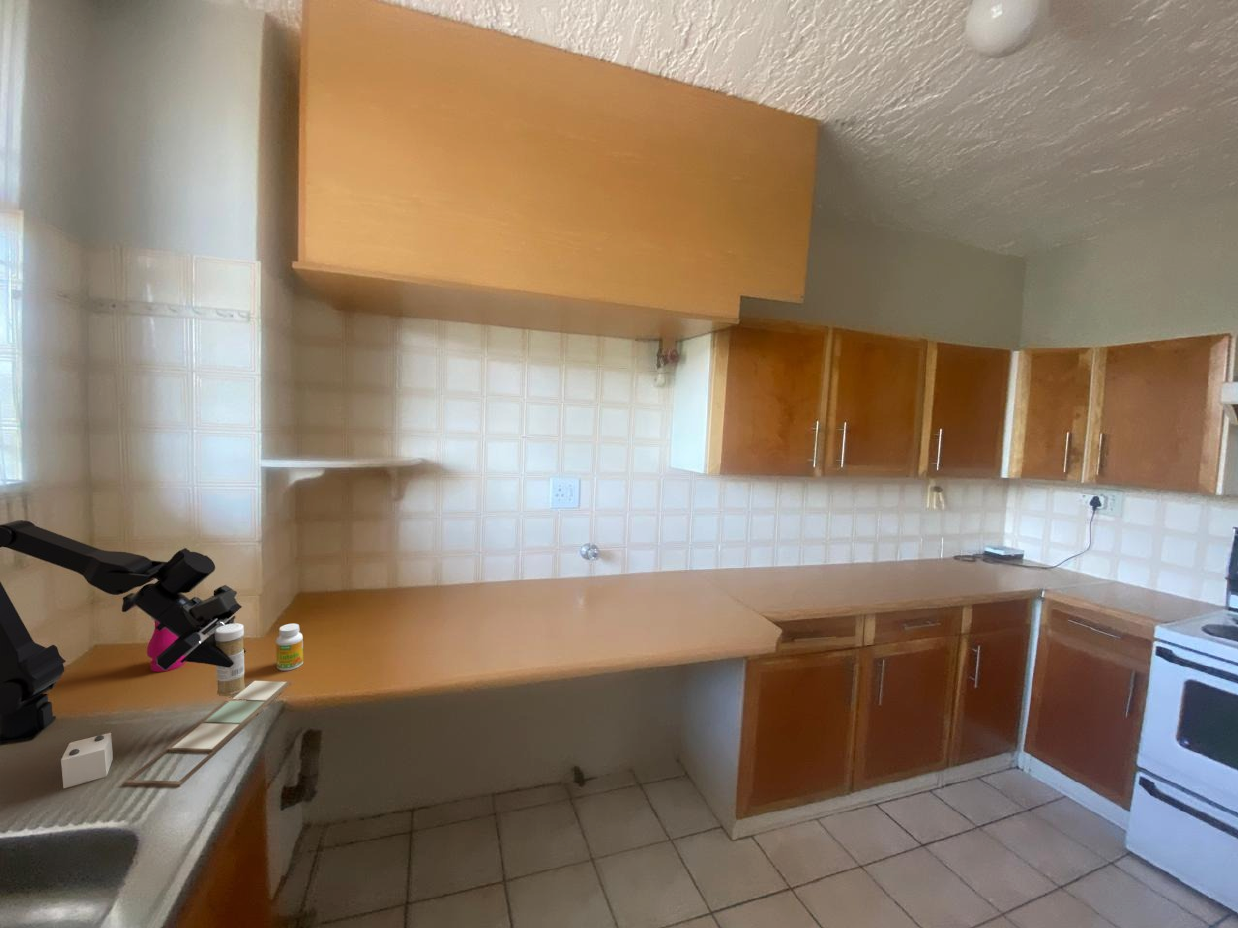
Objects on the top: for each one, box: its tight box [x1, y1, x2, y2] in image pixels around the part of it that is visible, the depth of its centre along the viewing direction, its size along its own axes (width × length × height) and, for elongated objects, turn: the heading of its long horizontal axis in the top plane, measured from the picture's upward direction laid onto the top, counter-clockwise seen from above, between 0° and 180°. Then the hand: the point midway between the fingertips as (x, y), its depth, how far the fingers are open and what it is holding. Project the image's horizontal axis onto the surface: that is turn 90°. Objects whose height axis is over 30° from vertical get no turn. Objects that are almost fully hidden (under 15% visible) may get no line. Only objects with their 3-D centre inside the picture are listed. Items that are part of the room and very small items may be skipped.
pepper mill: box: [146, 617, 186, 673], centre depth 118 cm, size 7×7×20 cm
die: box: [60, 732, 114, 789], centre depth 85 cm, size 5×5×6 cm
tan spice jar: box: [215, 623, 246, 697], centre depth 100 cm, size 5×5×14 cm
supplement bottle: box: [275, 623, 304, 672], centre depth 121 cm, size 5×5×10 cm
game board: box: [123, 680, 293, 787], centre depth 99 cm, size 9×30×1 cm, turn 2°
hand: (237, 659), depth 101 cm, fingers closed on tan spice jar, 4 cm apart
